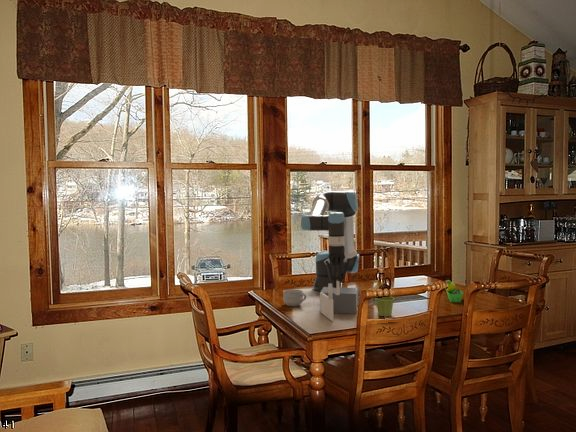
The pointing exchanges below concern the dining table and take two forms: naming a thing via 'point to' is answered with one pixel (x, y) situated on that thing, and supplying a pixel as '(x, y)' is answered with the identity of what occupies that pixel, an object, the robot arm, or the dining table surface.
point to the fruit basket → (453, 292)
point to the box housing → (344, 300)
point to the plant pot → (385, 306)
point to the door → (327, 303)
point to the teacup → (293, 297)
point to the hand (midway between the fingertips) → (337, 294)
